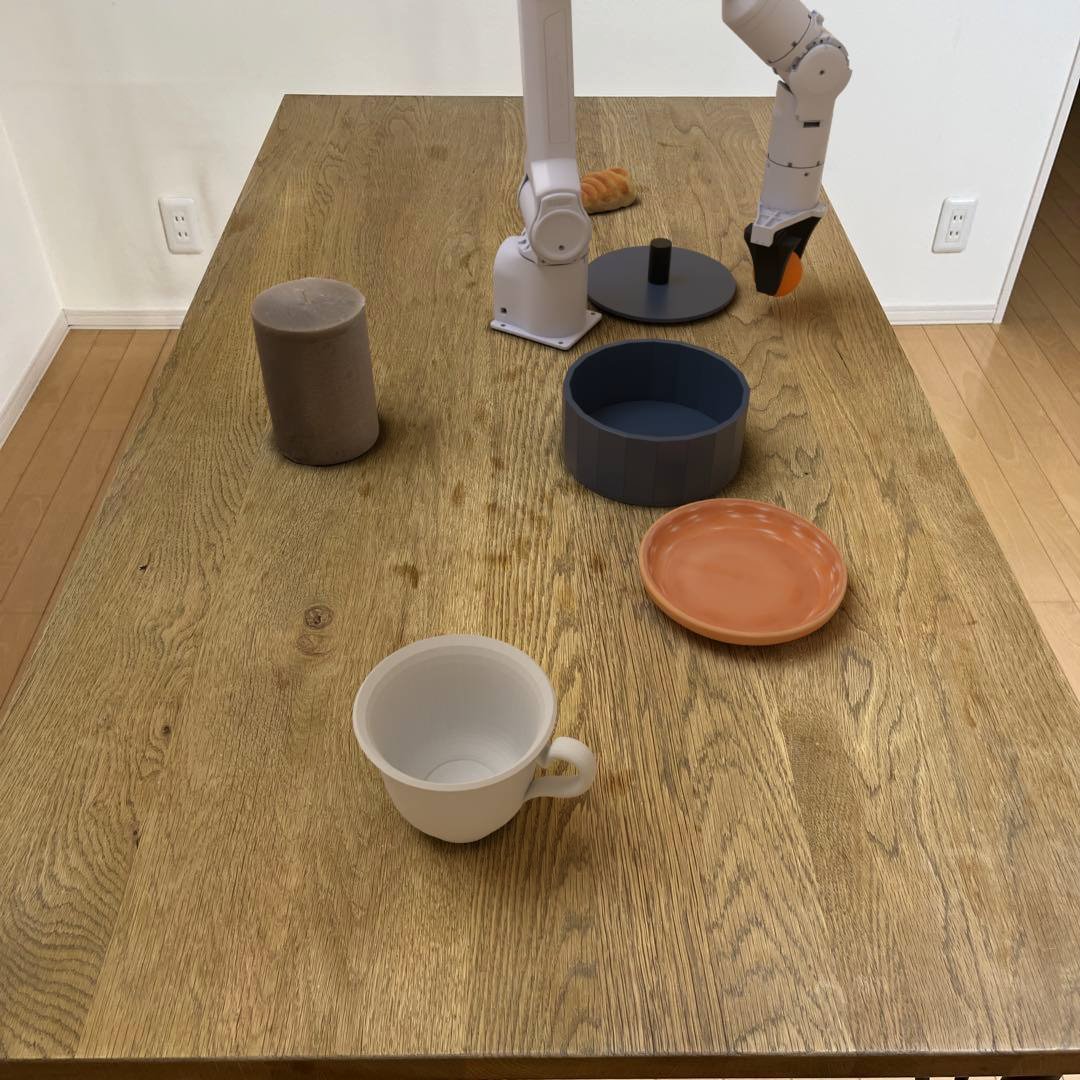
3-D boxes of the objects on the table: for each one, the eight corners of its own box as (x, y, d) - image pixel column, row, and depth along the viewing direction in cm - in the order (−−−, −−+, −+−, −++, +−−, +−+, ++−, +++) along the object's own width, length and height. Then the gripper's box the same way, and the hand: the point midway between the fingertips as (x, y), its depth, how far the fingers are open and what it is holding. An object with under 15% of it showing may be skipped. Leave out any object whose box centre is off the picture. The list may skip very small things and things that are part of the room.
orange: (742, 297, 119) (748, 253, 115) (760, 278, 122) (767, 234, 119) (788, 310, 117) (795, 265, 113) (805, 289, 120) (813, 245, 117)
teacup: (553, 934, 65) (556, 835, 58) (334, 848, 69) (313, 747, 63) (622, 779, 73) (631, 678, 67) (422, 712, 78) (412, 610, 71)
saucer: (838, 535, 92) (844, 507, 90) (844, 676, 80) (852, 647, 78) (646, 514, 94) (649, 486, 92) (625, 648, 82) (627, 620, 81)
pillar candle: (280, 474, 99) (251, 325, 89) (270, 414, 106) (242, 270, 96) (388, 456, 100) (372, 309, 91) (371, 399, 108) (355, 256, 98)
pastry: (585, 222, 137) (586, 193, 135) (551, 205, 141) (551, 175, 139) (641, 202, 142) (643, 173, 139) (606, 186, 146) (607, 157, 143)
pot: (529, 470, 99) (528, 404, 94) (613, 384, 110) (616, 322, 105) (695, 529, 93) (703, 462, 88) (767, 432, 103) (777, 368, 99)
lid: (553, 302, 122) (553, 255, 118) (624, 241, 133) (626, 197, 130) (695, 343, 116) (701, 295, 112) (758, 276, 127) (764, 230, 123)
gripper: (808, 191, 103) (786, 320, 112) (858, 141, 113) (834, 263, 122) (738, 175, 106) (722, 303, 115) (792, 127, 116) (773, 248, 124)
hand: (775, 281), depth 119 cm, fingers closed on orange, 5 cm apart
